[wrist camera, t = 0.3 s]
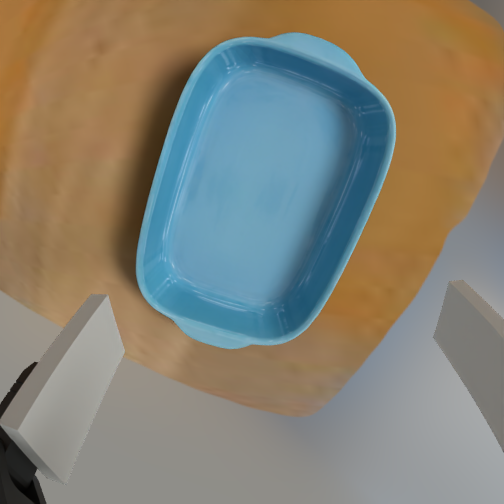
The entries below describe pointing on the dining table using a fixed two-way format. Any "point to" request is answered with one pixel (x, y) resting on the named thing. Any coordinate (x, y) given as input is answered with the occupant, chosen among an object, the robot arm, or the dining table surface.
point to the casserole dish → (262, 189)
